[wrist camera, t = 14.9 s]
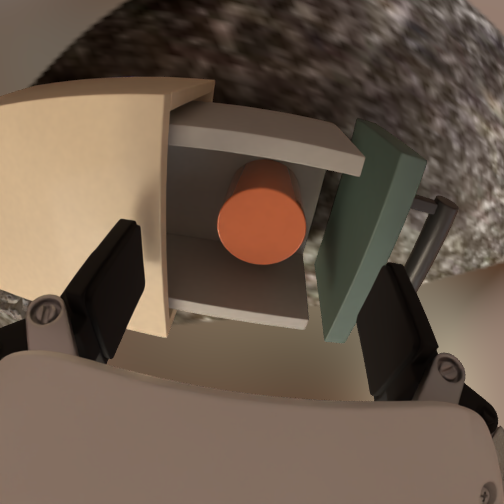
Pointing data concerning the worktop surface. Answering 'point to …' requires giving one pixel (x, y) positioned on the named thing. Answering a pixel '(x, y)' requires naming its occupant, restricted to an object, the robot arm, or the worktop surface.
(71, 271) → the wooden drawer box
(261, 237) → the orange cylinder
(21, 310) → the egg carton
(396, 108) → the worktop surface
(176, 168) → the green-fronted drawer
